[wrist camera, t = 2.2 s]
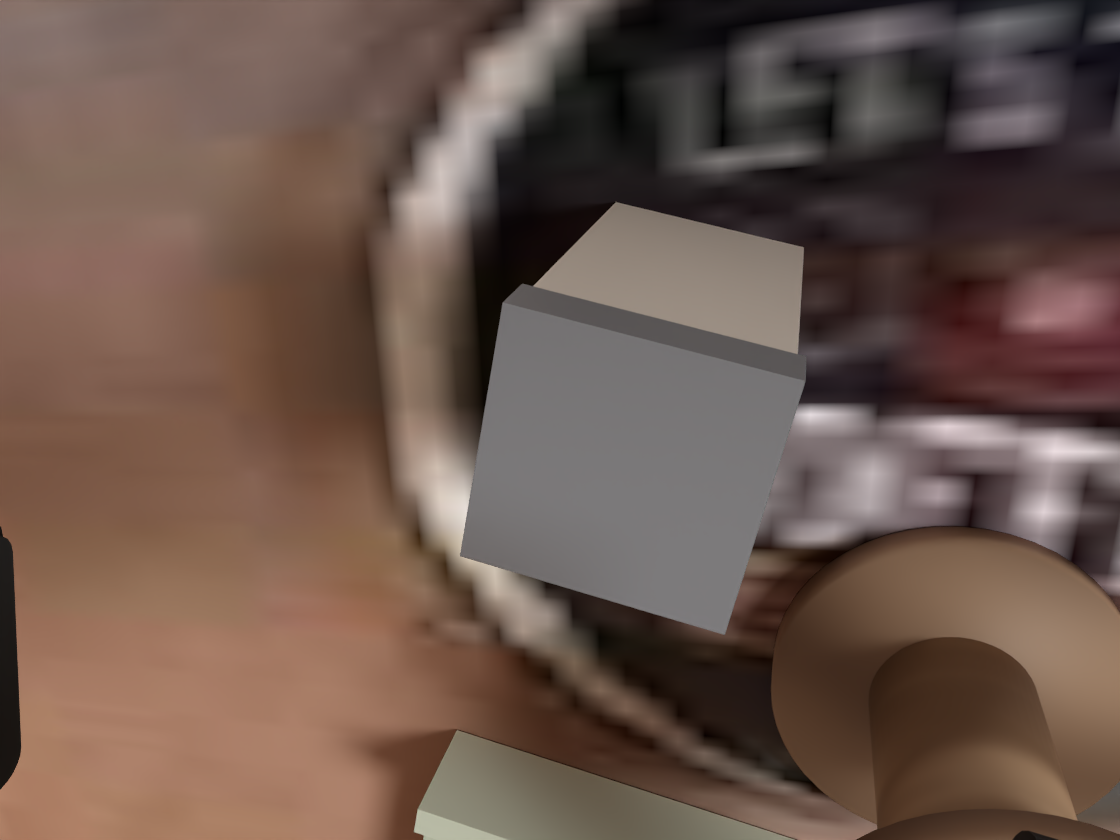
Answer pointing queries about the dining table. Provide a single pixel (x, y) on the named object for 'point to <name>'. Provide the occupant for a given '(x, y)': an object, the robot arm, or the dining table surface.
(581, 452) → the white grey rectangular block
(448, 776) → the open tray
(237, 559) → the dining table surface
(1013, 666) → the knob
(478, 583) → the dining table surface
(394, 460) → the dining table surface
